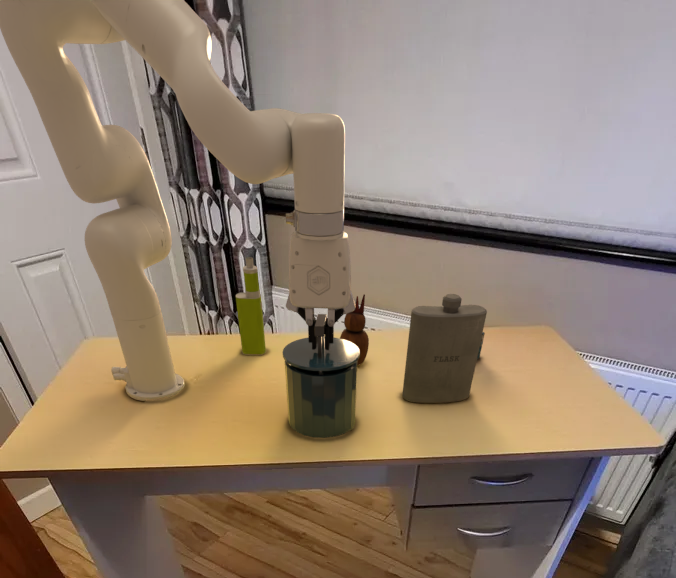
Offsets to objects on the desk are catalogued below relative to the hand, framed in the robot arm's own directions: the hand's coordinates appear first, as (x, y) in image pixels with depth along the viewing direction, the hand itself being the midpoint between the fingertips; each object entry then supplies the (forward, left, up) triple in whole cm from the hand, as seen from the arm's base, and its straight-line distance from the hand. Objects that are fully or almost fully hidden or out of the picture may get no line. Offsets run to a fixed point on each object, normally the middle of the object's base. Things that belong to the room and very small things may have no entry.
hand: (321, 346), depth 92 cm
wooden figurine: (+5, +30, -15) cm, 34 cm away
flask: (+24, +14, -15) cm, 31 cm away
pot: (0, 0, -15) cm, 15 cm away
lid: (0, 0, -1) cm, 1 cm away
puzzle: (+32, +35, -15) cm, 49 cm away
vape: (-20, +34, -15) cm, 42 cm away
